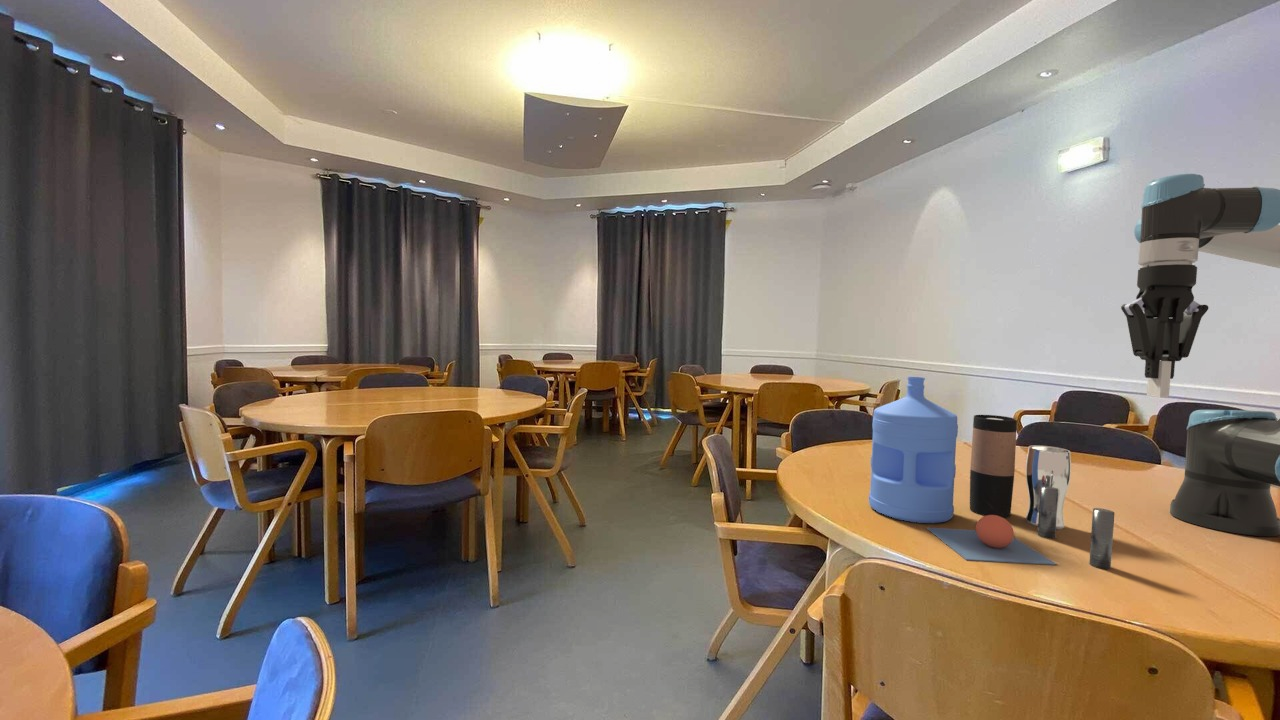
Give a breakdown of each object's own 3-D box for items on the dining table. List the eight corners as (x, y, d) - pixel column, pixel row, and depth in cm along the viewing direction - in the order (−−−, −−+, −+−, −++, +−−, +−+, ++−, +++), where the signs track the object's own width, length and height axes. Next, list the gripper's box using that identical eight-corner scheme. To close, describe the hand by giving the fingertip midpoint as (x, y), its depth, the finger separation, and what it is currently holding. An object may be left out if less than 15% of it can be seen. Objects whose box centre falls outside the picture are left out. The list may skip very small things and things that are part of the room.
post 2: (1102, 562, 86) (1105, 508, 86) (1115, 569, 84) (1118, 513, 83) (1085, 561, 87) (1088, 507, 86) (1097, 568, 84) (1101, 513, 84)
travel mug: (959, 507, 113) (964, 415, 112) (986, 505, 115) (991, 414, 114) (992, 520, 106) (998, 421, 105) (1021, 516, 108) (1026, 419, 107)
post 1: (1048, 533, 99) (1051, 486, 98) (1058, 539, 96) (1061, 490, 96) (1034, 532, 99) (1037, 485, 99) (1043, 538, 97) (1046, 489, 96)
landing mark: (1004, 532, 99) (1004, 531, 99) (1057, 565, 85) (1057, 563, 85) (926, 528, 100) (926, 527, 100) (966, 560, 86) (966, 559, 86)
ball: (962, 528, 95) (988, 547, 95) (980, 540, 89) (1007, 559, 89) (982, 504, 95) (1007, 522, 94) (1001, 514, 89) (1028, 533, 89)
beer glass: (1023, 515, 109) (1028, 443, 108) (1067, 523, 105) (1072, 448, 104) (1021, 524, 104) (1025, 448, 103) (1067, 533, 99) (1072, 454, 98)
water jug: (873, 495, 121) (879, 373, 119) (953, 508, 113) (960, 377, 111) (863, 514, 107) (869, 377, 106) (953, 531, 99) (961, 382, 98)
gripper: (1146, 262, 91) (1136, 398, 92) (1228, 263, 90) (1217, 400, 91) (1111, 267, 99) (1102, 393, 100) (1186, 268, 98) (1177, 395, 99)
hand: (1157, 396), depth 96 cm, fingers closed
